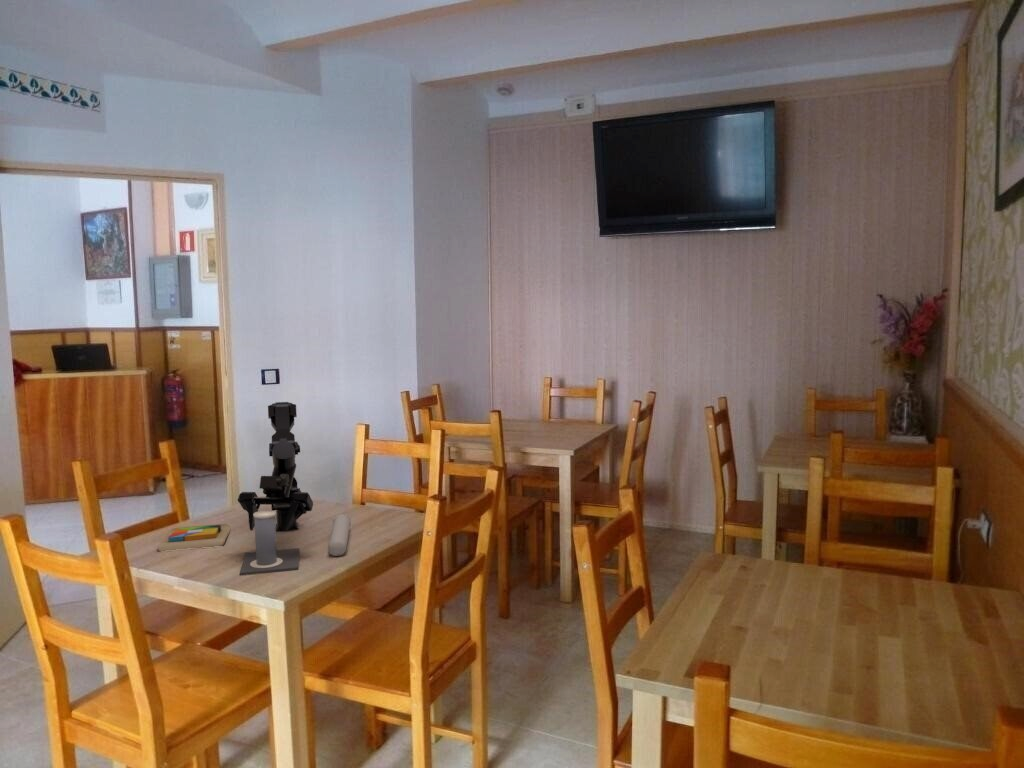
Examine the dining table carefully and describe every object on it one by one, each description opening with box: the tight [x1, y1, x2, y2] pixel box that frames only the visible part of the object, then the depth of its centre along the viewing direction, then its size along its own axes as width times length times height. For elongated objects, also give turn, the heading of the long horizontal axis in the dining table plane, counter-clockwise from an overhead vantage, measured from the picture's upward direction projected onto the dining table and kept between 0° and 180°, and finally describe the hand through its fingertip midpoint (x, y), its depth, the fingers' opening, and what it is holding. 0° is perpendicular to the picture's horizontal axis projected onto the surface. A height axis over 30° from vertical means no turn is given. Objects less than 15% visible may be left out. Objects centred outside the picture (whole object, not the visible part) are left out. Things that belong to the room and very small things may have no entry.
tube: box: [327, 514, 351, 557], centre depth 209 cm, size 5×5×25 cm
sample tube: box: [253, 509, 277, 566], centre depth 191 cm, size 5×5×13 cm
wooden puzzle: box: [157, 522, 232, 552], centre depth 214 cm, size 18×19×4 cm
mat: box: [239, 547, 300, 576], centre depth 194 cm, size 16×14×1 cm
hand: (268, 530), depth 193 cm, fingers open, 9 cm apart
